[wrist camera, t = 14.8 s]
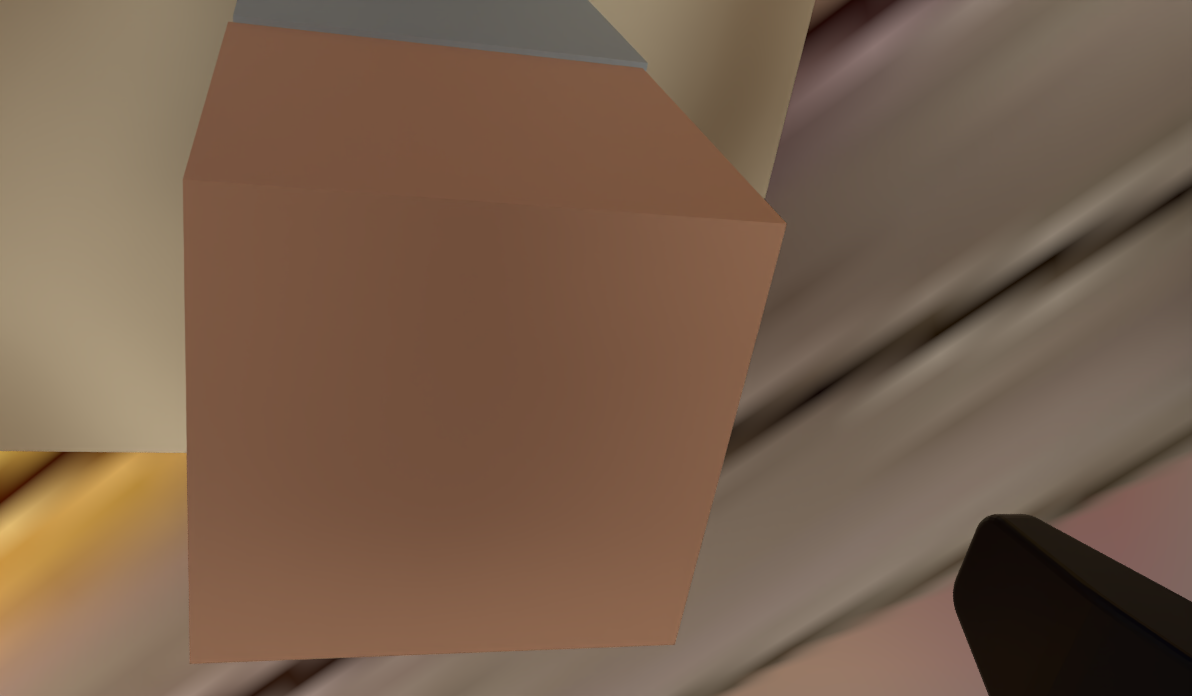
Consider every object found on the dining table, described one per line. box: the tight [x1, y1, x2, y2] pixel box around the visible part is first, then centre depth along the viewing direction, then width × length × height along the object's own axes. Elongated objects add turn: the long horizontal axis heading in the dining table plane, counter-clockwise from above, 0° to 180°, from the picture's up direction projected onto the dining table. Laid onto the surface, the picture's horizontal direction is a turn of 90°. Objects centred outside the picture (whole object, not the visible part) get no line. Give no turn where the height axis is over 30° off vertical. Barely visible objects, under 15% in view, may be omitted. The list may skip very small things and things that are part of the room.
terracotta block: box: [183, 22, 787, 664], centre depth 12 cm, size 5×5×5 cm
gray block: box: [233, 0, 648, 71], centre depth 16 cm, size 5×5×5 cm
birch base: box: [0, 0, 815, 453], centre depth 19 cm, size 14×14×2 cm
